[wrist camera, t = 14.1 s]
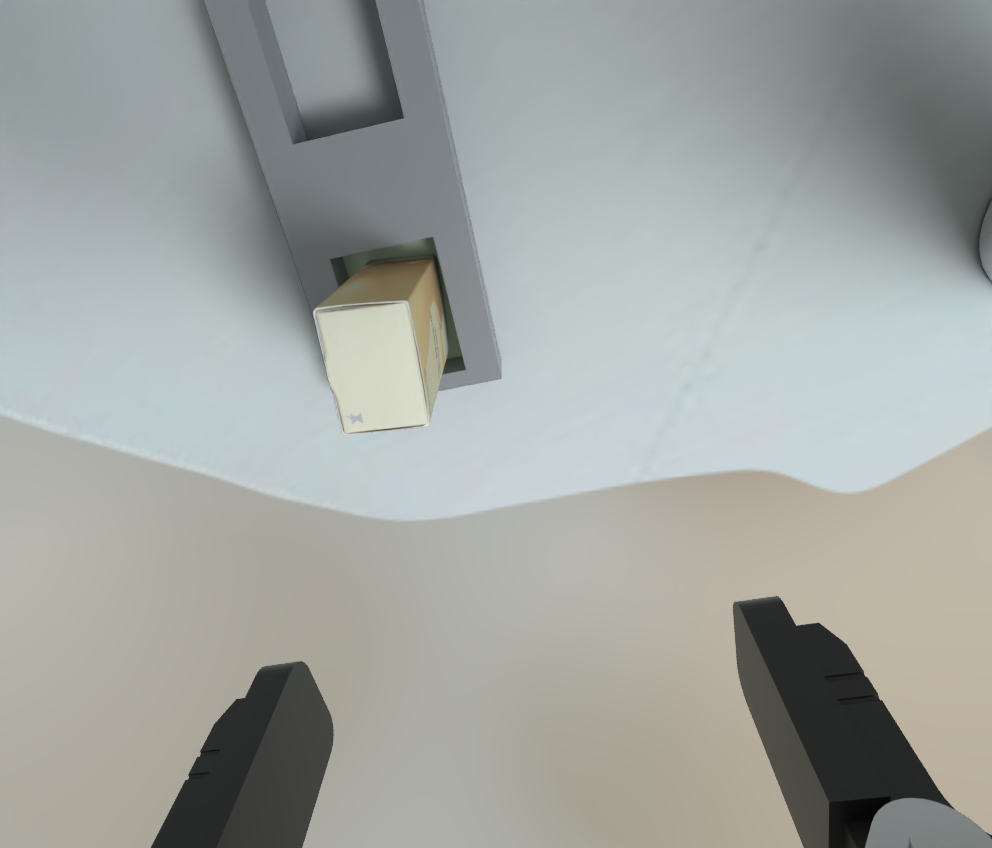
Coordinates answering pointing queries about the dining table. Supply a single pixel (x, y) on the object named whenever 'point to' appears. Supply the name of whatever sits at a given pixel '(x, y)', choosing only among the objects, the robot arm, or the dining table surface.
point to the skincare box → (385, 344)
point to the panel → (366, 176)
